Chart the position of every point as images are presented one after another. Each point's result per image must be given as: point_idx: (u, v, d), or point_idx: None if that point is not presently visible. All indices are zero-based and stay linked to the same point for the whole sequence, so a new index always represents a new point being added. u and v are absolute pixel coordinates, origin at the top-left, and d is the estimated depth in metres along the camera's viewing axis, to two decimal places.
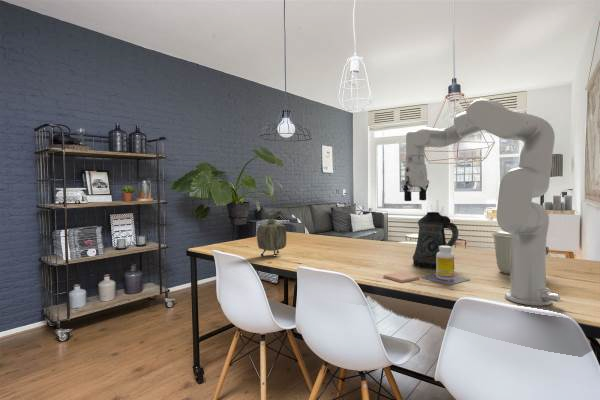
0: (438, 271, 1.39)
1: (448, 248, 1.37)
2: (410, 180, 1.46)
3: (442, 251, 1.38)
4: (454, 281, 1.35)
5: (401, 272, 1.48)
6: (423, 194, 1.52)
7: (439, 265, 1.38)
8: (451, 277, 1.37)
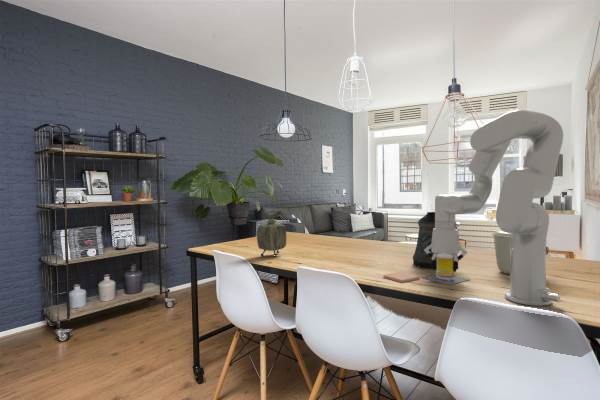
0: (438, 271, 1.39)
1: None
2: None
3: None
4: (454, 281, 1.35)
5: (401, 272, 1.48)
6: None
7: (439, 265, 1.38)
8: (451, 277, 1.37)
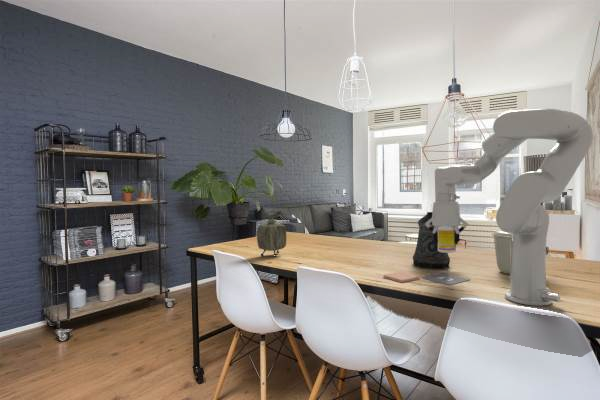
0: (439, 244, 1.38)
1: None
2: None
3: None
4: (454, 281, 1.35)
5: (401, 272, 1.48)
6: None
7: (440, 238, 1.38)
8: (452, 250, 1.36)
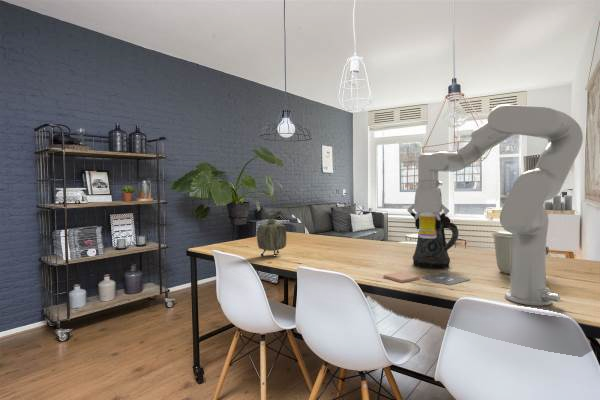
0: (420, 230, 1.40)
1: None
2: None
3: None
4: (454, 281, 1.35)
5: (401, 272, 1.48)
6: None
7: (421, 224, 1.39)
8: (433, 235, 1.38)
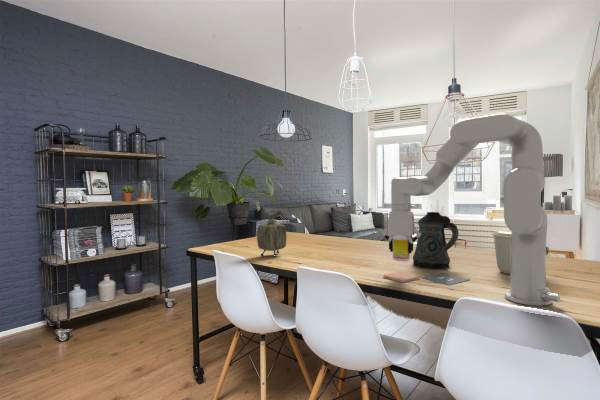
0: (394, 253, 1.41)
1: None
2: (414, 231, 1.41)
3: None
4: (454, 281, 1.35)
5: (401, 272, 1.48)
6: None
7: (394, 247, 1.41)
8: (406, 258, 1.39)
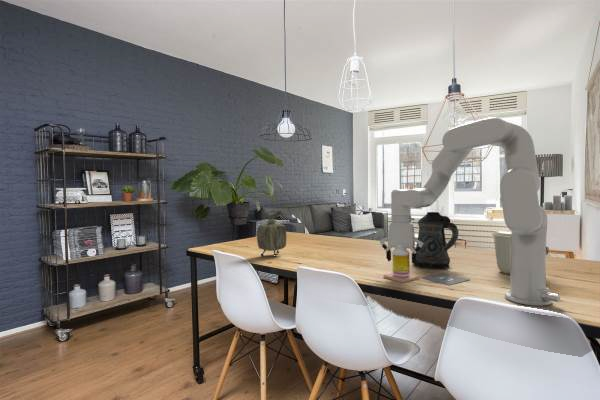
0: (394, 268, 1.42)
1: None
2: None
3: (397, 248, 1.41)
4: (454, 281, 1.35)
5: None
6: (390, 254, 1.45)
7: (394, 262, 1.41)
8: (406, 274, 1.39)
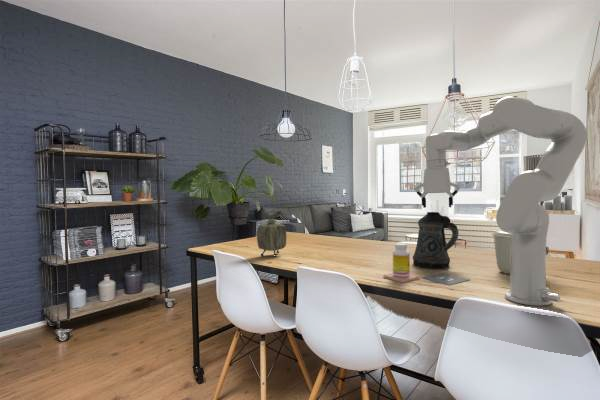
0: (394, 268, 1.42)
1: (403, 246, 1.40)
2: None
3: (397, 248, 1.41)
4: (454, 281, 1.35)
5: None
6: (425, 201, 1.45)
7: (394, 262, 1.41)
8: (406, 274, 1.39)
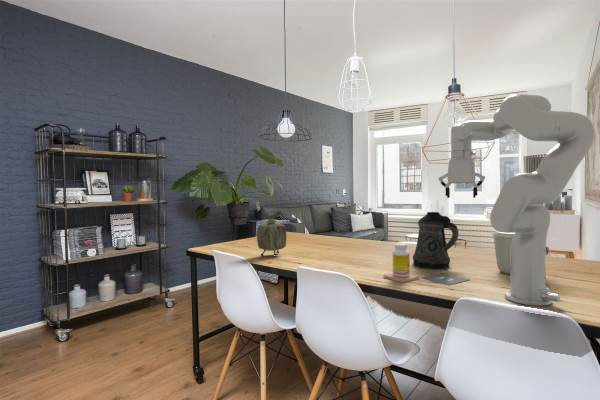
0: (394, 268, 1.42)
1: (403, 246, 1.40)
2: None
3: (397, 249, 1.41)
4: (454, 281, 1.35)
5: None
6: (449, 191, 1.46)
7: (394, 262, 1.41)
8: (406, 274, 1.39)
